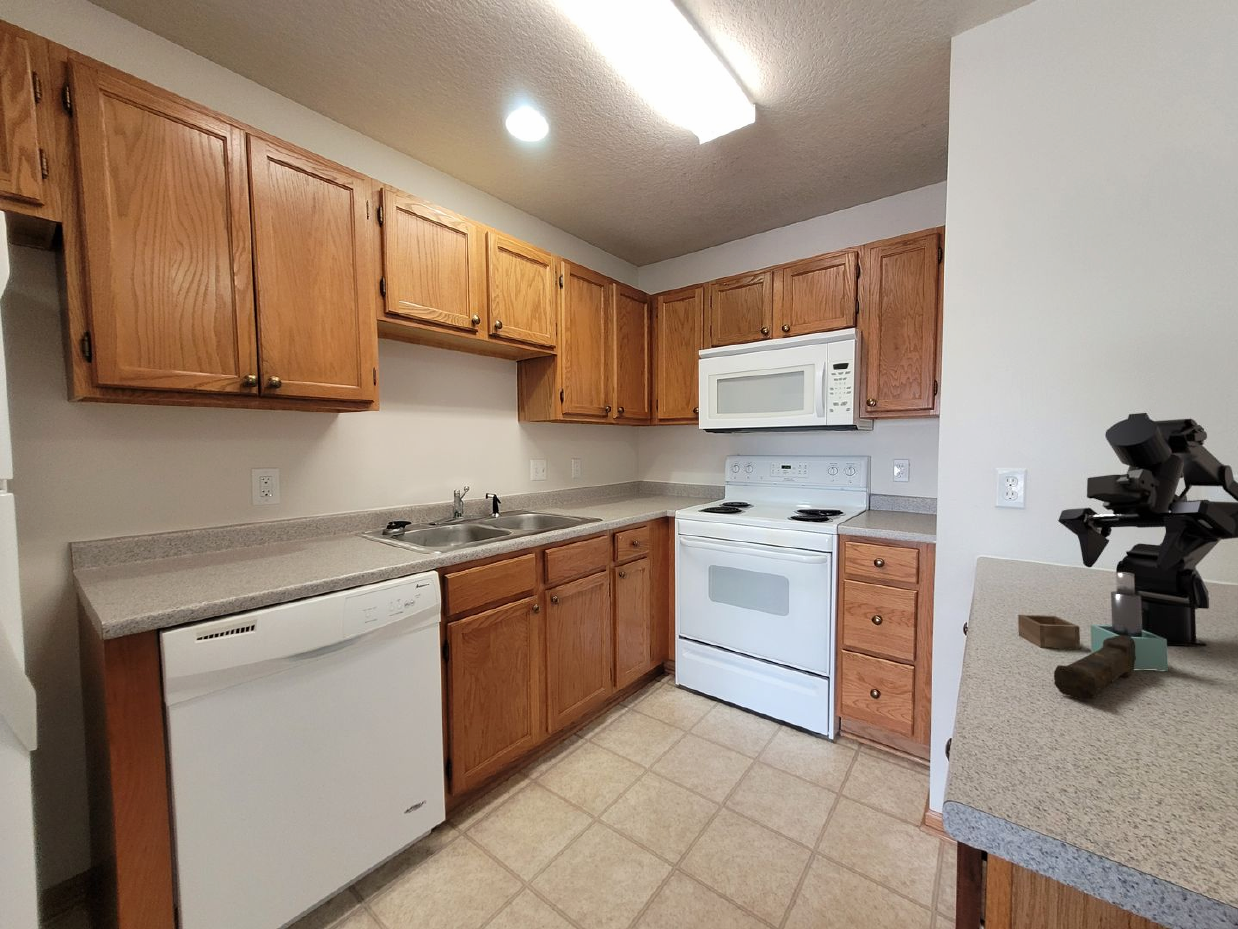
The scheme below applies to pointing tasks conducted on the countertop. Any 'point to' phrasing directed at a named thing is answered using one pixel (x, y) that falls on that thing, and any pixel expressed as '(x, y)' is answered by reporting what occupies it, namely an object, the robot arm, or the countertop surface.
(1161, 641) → the hollow teal block
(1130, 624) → the stepped grey cylinder
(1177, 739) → the countertop surface
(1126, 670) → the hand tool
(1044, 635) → the socket block
